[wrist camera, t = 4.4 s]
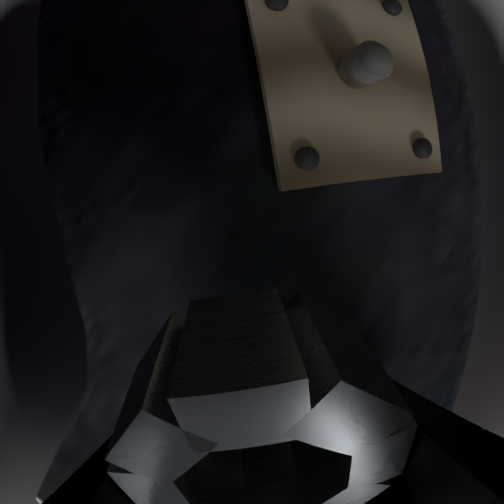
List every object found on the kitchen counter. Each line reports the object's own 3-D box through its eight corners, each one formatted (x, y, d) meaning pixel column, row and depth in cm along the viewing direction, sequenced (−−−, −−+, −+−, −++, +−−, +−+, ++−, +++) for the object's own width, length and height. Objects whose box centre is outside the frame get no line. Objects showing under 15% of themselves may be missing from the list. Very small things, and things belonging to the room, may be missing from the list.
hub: (357, 433, 10) (388, 506, 6) (181, 461, 10) (173, 538, 6) (362, 268, 8) (437, 340, 4) (110, 312, 8) (54, 400, 4)
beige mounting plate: (430, 170, 17) (478, 178, 13) (278, 189, 17) (295, 200, 12) (396, -2, 13) (431, -29, 9) (242, -6, 13) (247, -49, 9)
